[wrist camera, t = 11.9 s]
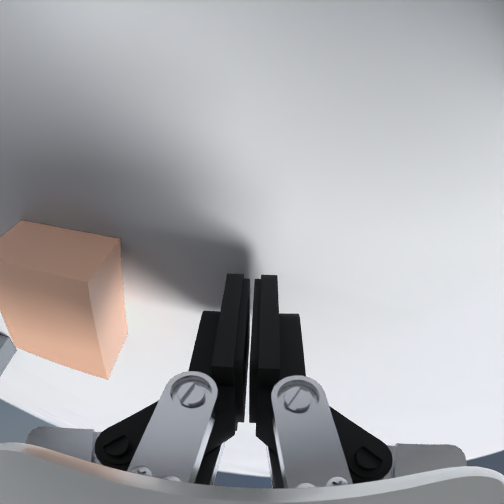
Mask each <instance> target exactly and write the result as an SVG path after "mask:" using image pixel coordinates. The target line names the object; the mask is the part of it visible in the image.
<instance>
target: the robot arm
mask: <svg viewBox="0 0 504 504" xmlns="http://www.w3.org/2000/svg"><path fill="white" fill-rule="evenodd" d="M249 337H250V279H244V274H227V278H226V284H225V289H224V295H223V300H222V306H221V312H218V311H203V313H202V316H201V320H200V325H199V329H198V333H197V337H196V341H195V346H194V350H193V354H192V359H191V363H190V367H189V371H188V372H183V373H180V374H178V375H176V376H174V377H173V378H172V379H170V381H169V382H168V383H167V385H166V387H165V389H164V391H163V393H162V395H161V397H160V400H159V401H157V402H155V403H154V404H152V405H150V406H148V407H146V408H145V409H143V410H141V411H139V412H137V413H135V414H134V415H132V416H130V417H128V418H126V419H124V420H122V421H120V422H119V423H117V424H115V425H113V426H111V427H109V428H107V429H106V430H104V431H103V432H95V431H94V429H74V428H59V427H47V426H42V427H37V428H35V429H33V430H32V431H31V432H30V433H29V435H28V437H27V440H26V444H24V443H12V442H11V443H0V504H504V476H503V475H502V474H500V473H499V472H496V471H494V470H491V469H487V468H481V467H467V466H466V458H465V454H464V453H463V452H462V450H461V449H460V448H458V447H457V446H454V445H425V444H398V443H397V444H396V445H395V446H388V445H386V444H384V443H383V442H382V441H381V440H379V439H378V438H376V437H374V436H373V435H371V434H370V433H368V432H367V431H365V430H364V429H362V428H361V427H359V426H358V425H356V424H355V423H353V422H352V421H350V420H349V419H347V418H346V417H344V416H343V415H341V414H340V413H339V412H337V411H336V410H334V409H333V408H331V407H330V406H329V404H328V401H327V398H326V395H325V392H324V390H323V388H322V386H321V385H320V384H319V383H318V382H317V381H315V380H313V379H311V378H309V377H306V374H305V363H304V353H303V344H302V334H301V325H300V317H299V314H279V306H278V282H277V275H261V279H255V283H254V301H253V318H252V335H251V352H250V384H249V423H256V436H257V437H258V438H259V439H260V440H261V441H262V442H264V443H265V444H266V450H267V457H268V463H269V469H270V475H271V481H272V487H273V489H260V488H259V489H257V488H236V487H222V486H213V483H214V479H215V476H216V473H217V469H218V466H219V462H220V459H221V456H222V452H223V449H224V443H225V441H227V440H228V439H229V438H231V437H232V436H234V435H235V431H237V424H238V422H244V416H245V401H246V386H247V371H248V355H249Z"/></svg>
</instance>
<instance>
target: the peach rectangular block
mask: <svg viewBox="0 0 504 504" xmlns="http://www.w3.org/2000/svg"><path fill="white" fill-rule="evenodd" d="M0 311H1V314H2V317H3V319H4V322H5V324H6V327H7V329H8V331H9V334H10V336H11V338H12V341H13V343H14V345H15V347H17V348H20V349H22V350H24V351H27V352H29V353H32V354H34V355H37V356H39V357H42V358H45V359H47V360H50V361H53V362H55V363H58V364H61V365H64V366H67V367H70V368H72V369H75V370H78V371H81V372H85V373H88V374H91V375H94V376H97V377H101V378H104V379H107V380H108V378H109V376H110V374H111V371H112V369H113V366H114V364H115V362H116V359H117V357H118V355H119V353H120V350H121V348H122V346H123V343H124V341H125V339H126V337H127V335H128V330H127V321H126V312H125V302H124V290H123V277H122V261H121V239H119V238H114V237H108V236H103V235H98V234H92V233H87V232H82V231H76V230H71V229H66V228H60V227H55V226H50V225H45V224H39V223H34V222H29V221H24V220H21V221H20V222H18V223H17V224H16V225H15V226H13V227H12V228H11V229H10V230H8V231H7V232H6V233H5V234H4V235H2V236H1V237H0Z"/></svg>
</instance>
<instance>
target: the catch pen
mask: <svg viewBox="0 0 504 504" xmlns="http://www.w3.org/2000/svg"><path fill="white" fill-rule="evenodd" d="M16 351H17V350H16V349H15V347H14V345H13V344H12V342H11V340H10V338H9V337H6V336H3V335H0V376H1V374H2V373H3V371H4V370H5V368H6V366H7V365H8V363H9V362H10V360H11V358H12V357H13V355H14V354H15V352H16Z"/></svg>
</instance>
